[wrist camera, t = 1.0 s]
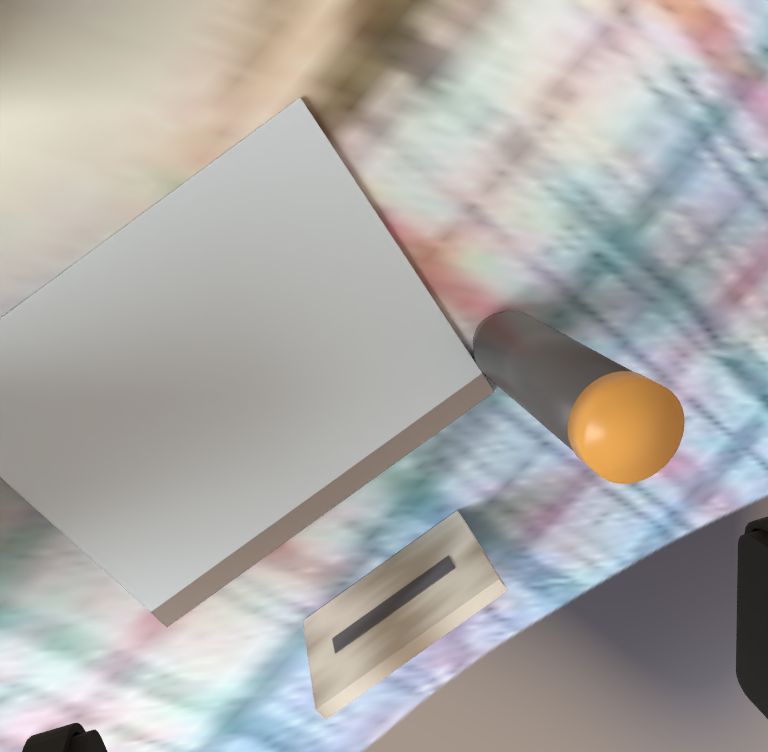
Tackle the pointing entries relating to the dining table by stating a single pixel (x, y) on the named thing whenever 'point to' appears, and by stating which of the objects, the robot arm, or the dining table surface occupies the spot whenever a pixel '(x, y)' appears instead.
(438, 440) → the dining table surface
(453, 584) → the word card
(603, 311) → the dining table surface
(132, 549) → the notepad
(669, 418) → the marker
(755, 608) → the robot arm
